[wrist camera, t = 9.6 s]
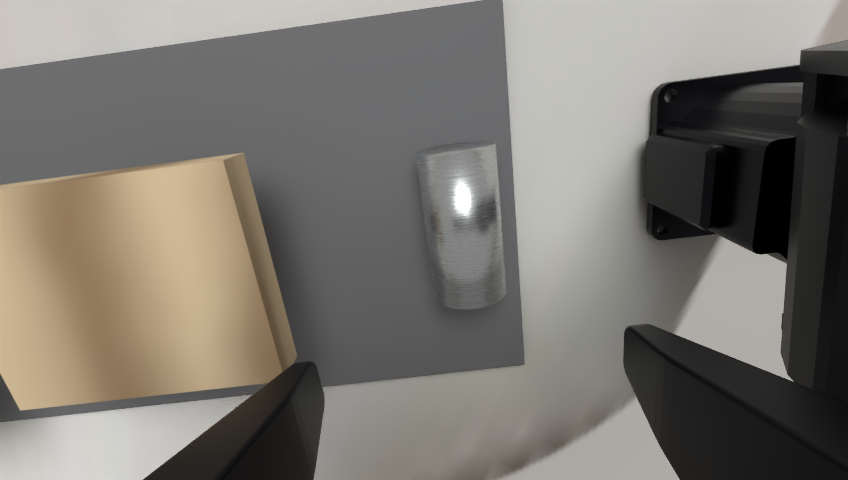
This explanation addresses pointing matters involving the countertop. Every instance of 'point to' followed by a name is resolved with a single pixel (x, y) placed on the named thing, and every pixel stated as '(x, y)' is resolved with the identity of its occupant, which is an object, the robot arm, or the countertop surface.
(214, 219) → the oak slab
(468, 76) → the rubber mat
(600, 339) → the countertop surface
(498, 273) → the cylinder
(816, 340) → the robot arm
